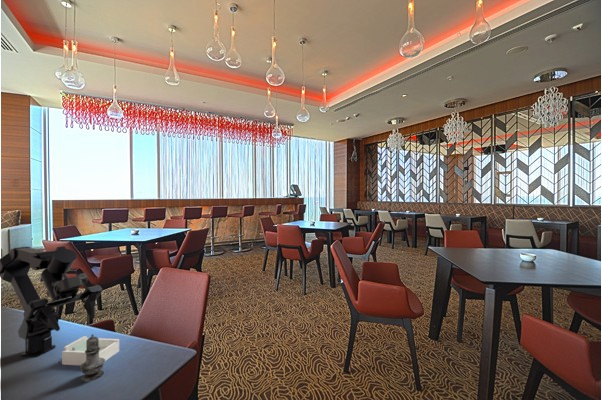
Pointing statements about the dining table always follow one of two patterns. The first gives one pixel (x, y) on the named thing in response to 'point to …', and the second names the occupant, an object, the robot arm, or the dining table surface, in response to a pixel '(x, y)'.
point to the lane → (79, 357)
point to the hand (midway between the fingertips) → (76, 323)
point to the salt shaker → (92, 360)
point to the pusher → (80, 346)
